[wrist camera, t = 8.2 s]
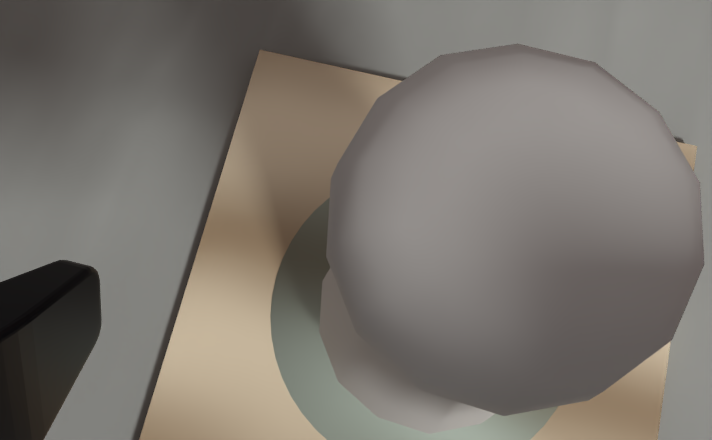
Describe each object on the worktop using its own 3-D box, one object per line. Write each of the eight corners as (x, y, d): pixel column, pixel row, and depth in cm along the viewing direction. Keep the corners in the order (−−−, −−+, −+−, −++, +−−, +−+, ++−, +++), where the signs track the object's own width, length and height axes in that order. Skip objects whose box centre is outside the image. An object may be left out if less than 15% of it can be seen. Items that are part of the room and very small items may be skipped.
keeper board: (624, 635, 18) (630, 641, 17) (125, 498, 19) (120, 501, 18) (690, 150, 21) (697, 145, 21) (261, 55, 22) (259, 49, 22)
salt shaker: (559, 378, 19) (937, 364, 6) (372, 460, 19) (383, 615, 6) (472, 195, 20) (645, -116, 8) (296, 266, 20) (173, 59, 7)
